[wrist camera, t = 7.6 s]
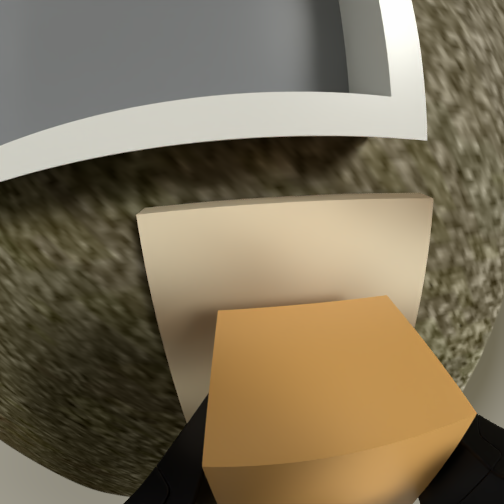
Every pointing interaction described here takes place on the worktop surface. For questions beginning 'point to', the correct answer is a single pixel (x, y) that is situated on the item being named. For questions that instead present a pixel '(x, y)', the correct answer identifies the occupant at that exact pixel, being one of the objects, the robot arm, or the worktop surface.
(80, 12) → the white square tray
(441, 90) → the worktop surface
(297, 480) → the block
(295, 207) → the pad
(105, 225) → the worktop surface
